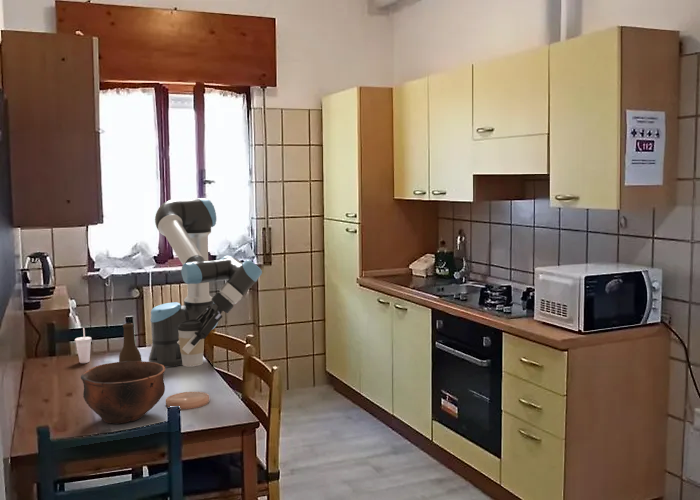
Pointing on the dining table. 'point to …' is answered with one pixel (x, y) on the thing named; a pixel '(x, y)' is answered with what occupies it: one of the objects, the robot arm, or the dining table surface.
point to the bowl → (123, 389)
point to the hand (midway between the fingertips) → (182, 348)
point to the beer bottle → (129, 345)
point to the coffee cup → (185, 334)
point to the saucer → (188, 400)
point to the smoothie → (83, 348)
